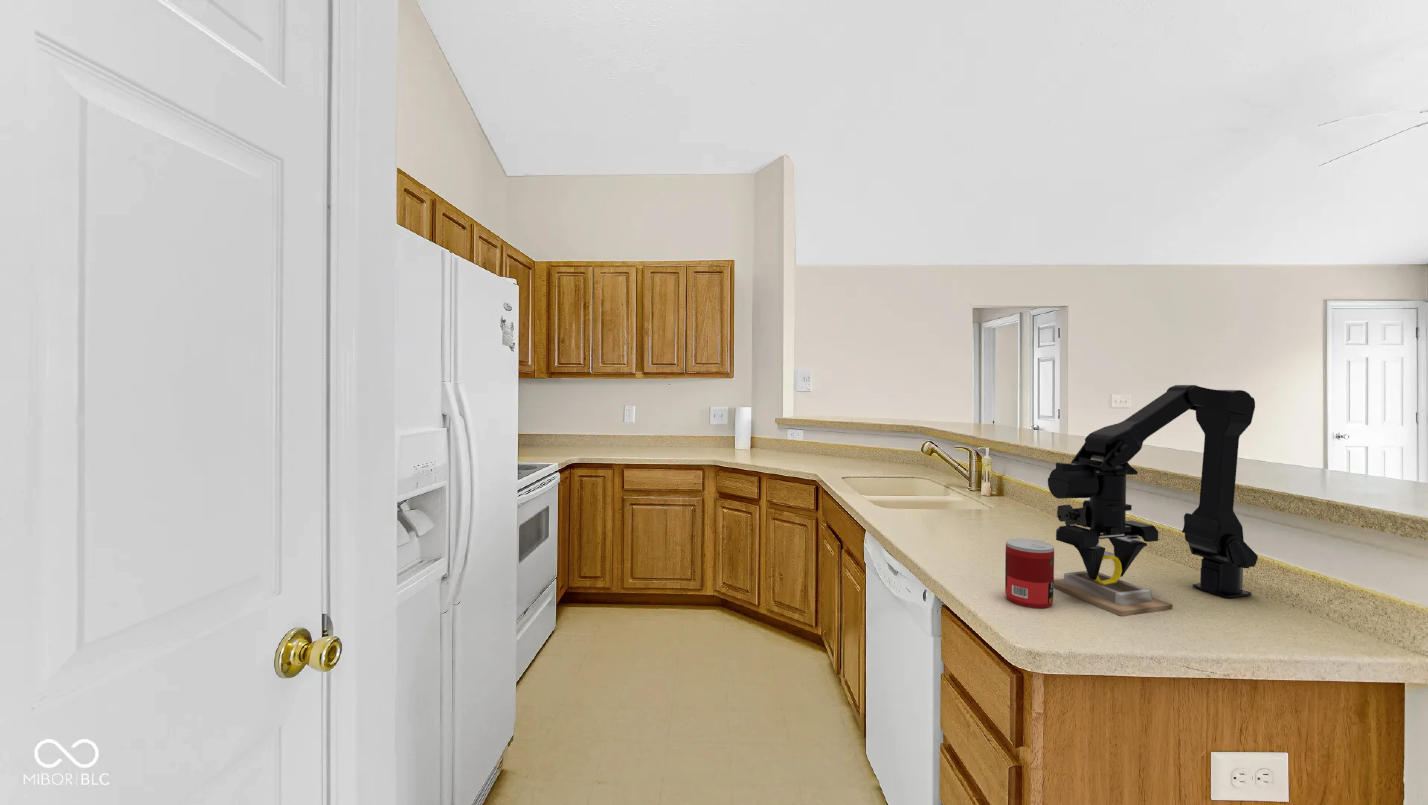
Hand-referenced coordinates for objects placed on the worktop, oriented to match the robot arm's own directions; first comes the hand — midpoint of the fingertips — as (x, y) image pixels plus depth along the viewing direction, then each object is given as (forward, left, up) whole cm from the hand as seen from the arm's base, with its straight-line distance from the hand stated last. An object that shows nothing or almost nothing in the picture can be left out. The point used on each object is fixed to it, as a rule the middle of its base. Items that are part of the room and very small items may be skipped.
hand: (1105, 577), depth 108 cm
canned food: (+16, -2, -4) cm, 17 cm away
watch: (0, 0, -1) cm, 1 cm away
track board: (0, 0, -4) cm, 4 cm away
